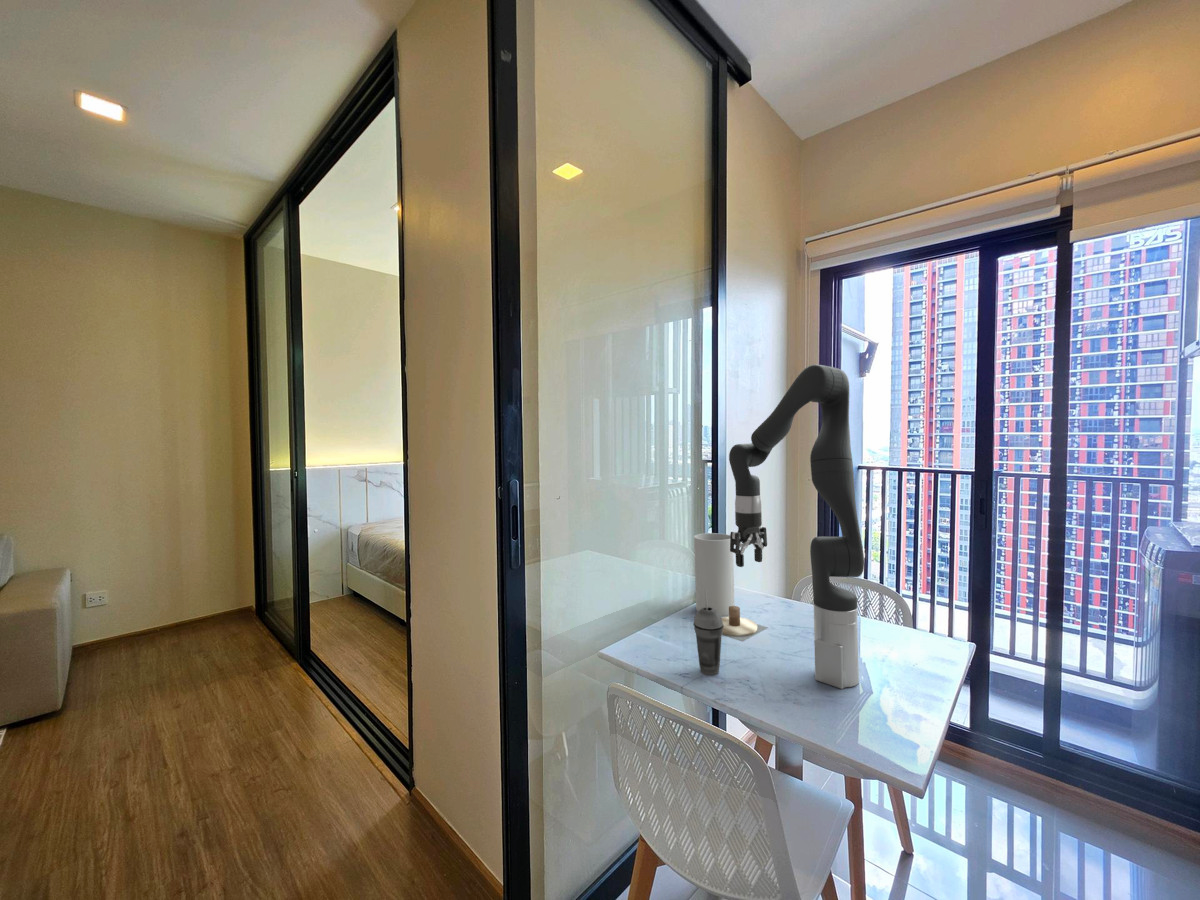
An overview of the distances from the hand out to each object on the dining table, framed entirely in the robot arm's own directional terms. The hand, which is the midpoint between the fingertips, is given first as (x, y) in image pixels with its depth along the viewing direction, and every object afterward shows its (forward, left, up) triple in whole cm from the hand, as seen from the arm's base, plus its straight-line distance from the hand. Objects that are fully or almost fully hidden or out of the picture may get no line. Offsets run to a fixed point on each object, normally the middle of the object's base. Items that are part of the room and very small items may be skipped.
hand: (749, 564), depth 142 cm
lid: (-4, +3, -19) cm, 20 cm away
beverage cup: (-31, -7, -20) cm, 37 cm away
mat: (-4, +3, -20) cm, 20 cm away
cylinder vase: (+5, +16, -20) cm, 26 cm away
